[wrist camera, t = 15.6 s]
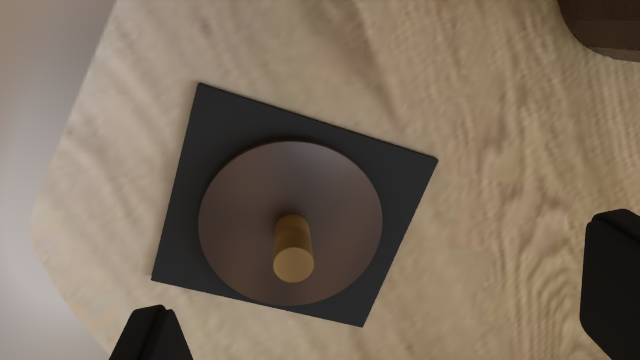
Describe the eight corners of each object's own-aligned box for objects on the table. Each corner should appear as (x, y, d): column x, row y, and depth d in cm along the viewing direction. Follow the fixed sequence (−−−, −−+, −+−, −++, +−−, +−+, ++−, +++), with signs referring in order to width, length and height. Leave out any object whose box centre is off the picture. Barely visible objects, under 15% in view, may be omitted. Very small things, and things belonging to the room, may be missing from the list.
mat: (152, 276, 33) (150, 280, 33) (199, 82, 28) (197, 83, 28) (361, 324, 37) (362, 327, 36) (436, 158, 32) (438, 160, 31)
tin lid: (211, 302, 34) (197, 357, 28) (189, 140, 29) (167, 169, 24) (376, 290, 35) (394, 342, 29) (382, 132, 30) (405, 158, 25)
